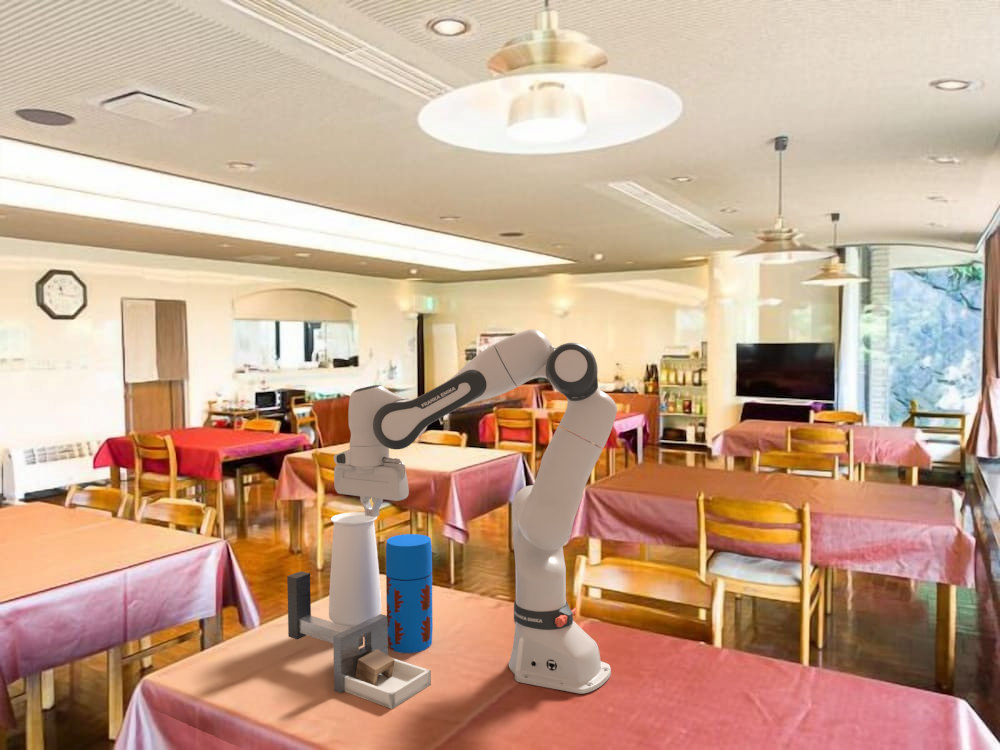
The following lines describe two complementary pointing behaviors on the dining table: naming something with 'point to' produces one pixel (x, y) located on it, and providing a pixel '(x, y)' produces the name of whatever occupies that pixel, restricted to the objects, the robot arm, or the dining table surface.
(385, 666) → the block
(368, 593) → the vase
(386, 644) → the bearing wall
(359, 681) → the tray
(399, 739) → the dining table surface
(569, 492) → the robot arm
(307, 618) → the shaft
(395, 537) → the thermos
